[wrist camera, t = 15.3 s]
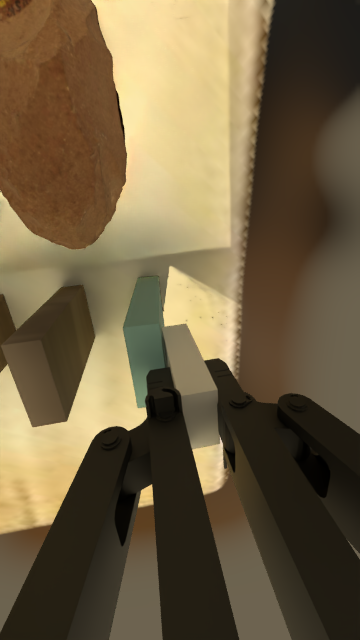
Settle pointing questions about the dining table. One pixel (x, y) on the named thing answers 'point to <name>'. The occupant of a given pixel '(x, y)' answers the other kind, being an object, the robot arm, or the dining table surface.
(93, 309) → the dining table surface
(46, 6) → the stone
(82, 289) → the tile
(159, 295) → the tile
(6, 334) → the tile
